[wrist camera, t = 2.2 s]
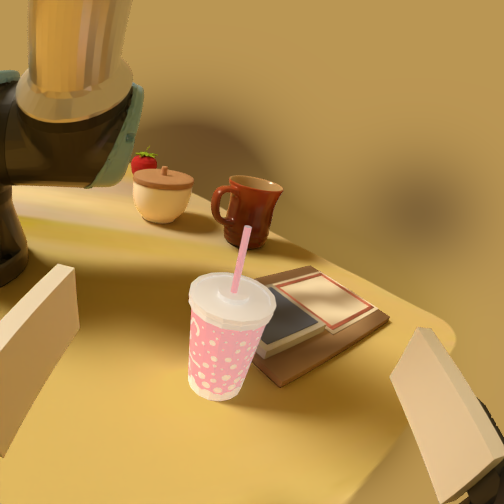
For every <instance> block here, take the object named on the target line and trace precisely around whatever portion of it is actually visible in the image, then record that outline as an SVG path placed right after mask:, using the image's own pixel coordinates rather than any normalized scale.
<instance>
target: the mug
mask: <svg viewBox="0 0 504 504" xmlns="http://www.w3.org/2000/svg"><path fill="white" fill-rule="evenodd" d="M229 184H230V186H221V187H218V188H217V189H216V190H215V191H214V193H213V196H212V201H211V211H212V215H213V217H214V219H215V220H216V221H217V222H219V223H220V224H222V225H224V237H225V239H226V240H227V241H228V242H229V243H231V244H232V245H234V246H237V247H240V244H241V240H242V235H243V230H244V226H245V225H248V226H251V227H252V229H251V233H250V238H249V242H248V247H247V249H256V248H259V247H261V246H263V245H264V244H265V241H266V240H267V236H268V235H269V229H270V225H271V221H272V216H273V211H274V207H275V205H276V203H277V201H278V199H279V197H280V196H281V193H282V192H283V188H282V187H281V186H280V185H278V184H276V183H273V182H271V181H268V180H264V179H260V178H256V177H250V176H240V175H239V176H238V175H237V176H231V177H230V178H229ZM226 192H230V202H229V206H228V210H227V214H226V217H225V218H223V217H221V216H220V212H219V206H220V199H221V196H222V195H223V194H224V193H226Z"/></svg>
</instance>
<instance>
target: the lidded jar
mask: <svg viewBox="0 0 504 504" xmlns="http://www.w3.org/2000/svg"><path fill="white" fill-rule="evenodd" d="M133 180H134V181H133V199H134V203H135V206H136V208H137V210H138V211H139V212H140V214H141V215H142V217H143V218H144V219H145V220H147V221H149V222H153V223H161V224H164V223H171V222H173V221H174V220H175V218H177V217H178V216H180V215H181V214H182V213H183V212H184V210H185V209H186V207H187V205H188V203H189V200H190V196H191V191H192V186H193V183H194V180H193V178H192V177H191V176H189V175H187V174H184V173H181V172H177V171H172V170H168V167H167V166H162V169H143V170H139V171H136V172H135V173H134V175H133Z"/></svg>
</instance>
